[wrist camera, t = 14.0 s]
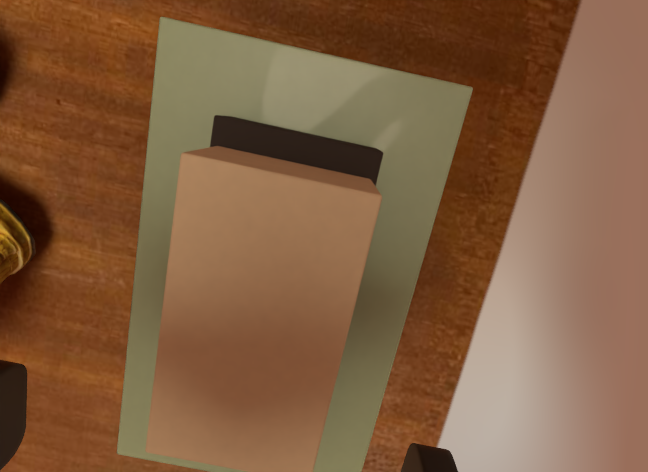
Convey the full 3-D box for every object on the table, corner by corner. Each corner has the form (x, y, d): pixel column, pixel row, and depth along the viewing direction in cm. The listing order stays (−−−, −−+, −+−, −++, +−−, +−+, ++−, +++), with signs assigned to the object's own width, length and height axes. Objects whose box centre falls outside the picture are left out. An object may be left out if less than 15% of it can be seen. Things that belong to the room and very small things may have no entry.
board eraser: (227, 115, 16) (176, 112, 11) (378, 148, 16) (399, 160, 11) (184, 415, 20) (130, 521, 15) (307, 439, 20) (298, 552, 15)
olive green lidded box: (226, 56, 25) (159, 15, 15) (420, 100, 25) (474, 87, 16) (185, 348, 30) (115, 454, 21) (347, 380, 31) (353, 499, 21)
